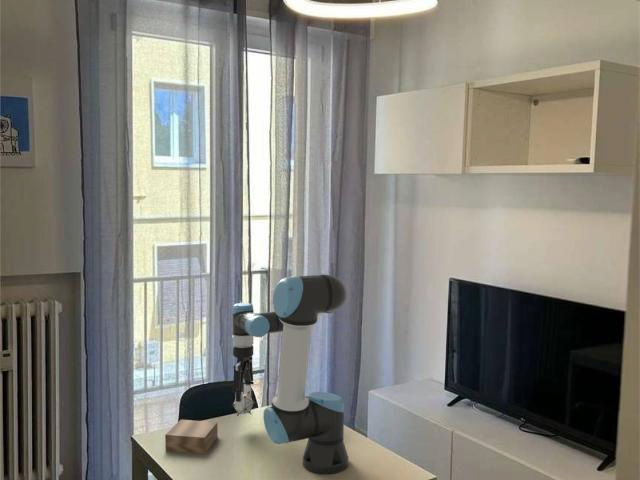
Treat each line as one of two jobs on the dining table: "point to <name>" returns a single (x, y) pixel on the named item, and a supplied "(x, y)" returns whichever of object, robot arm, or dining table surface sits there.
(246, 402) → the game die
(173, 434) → the walnut block
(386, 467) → the dining table surface
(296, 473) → the dining table surface
